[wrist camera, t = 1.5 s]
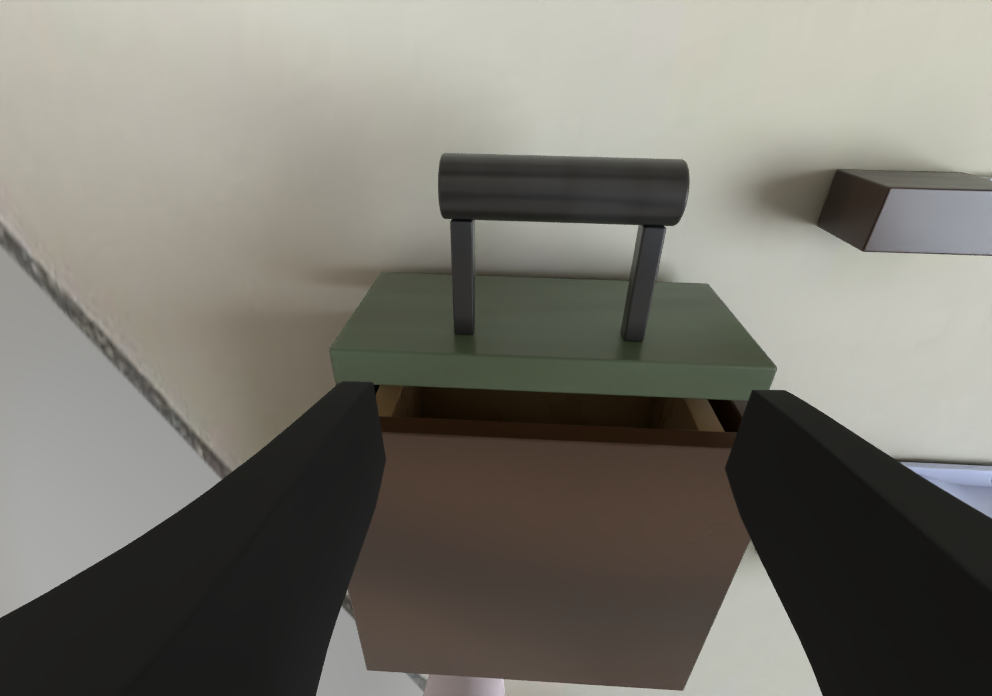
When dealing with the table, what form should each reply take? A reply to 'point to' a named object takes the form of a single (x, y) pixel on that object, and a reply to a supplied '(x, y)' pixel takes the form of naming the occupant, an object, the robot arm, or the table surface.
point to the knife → (911, 211)
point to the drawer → (553, 312)
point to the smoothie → (463, 686)
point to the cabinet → (548, 550)
